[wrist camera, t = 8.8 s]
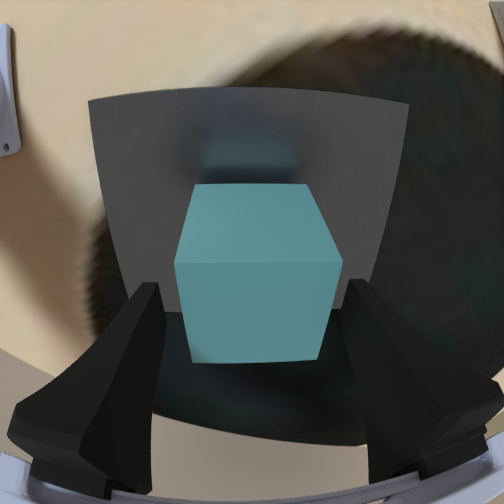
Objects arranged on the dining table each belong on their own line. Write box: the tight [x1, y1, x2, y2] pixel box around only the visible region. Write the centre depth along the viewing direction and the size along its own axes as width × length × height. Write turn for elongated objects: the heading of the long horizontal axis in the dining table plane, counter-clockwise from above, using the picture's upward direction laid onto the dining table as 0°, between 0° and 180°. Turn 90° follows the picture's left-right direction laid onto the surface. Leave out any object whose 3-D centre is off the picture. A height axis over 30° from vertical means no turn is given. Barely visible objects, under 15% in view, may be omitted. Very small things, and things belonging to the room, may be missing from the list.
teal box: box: [174, 184, 343, 363], centre depth 13 cm, size 5×5×6 cm
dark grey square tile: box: [88, 86, 409, 312], centre depth 14 cm, size 16×14×7 cm
